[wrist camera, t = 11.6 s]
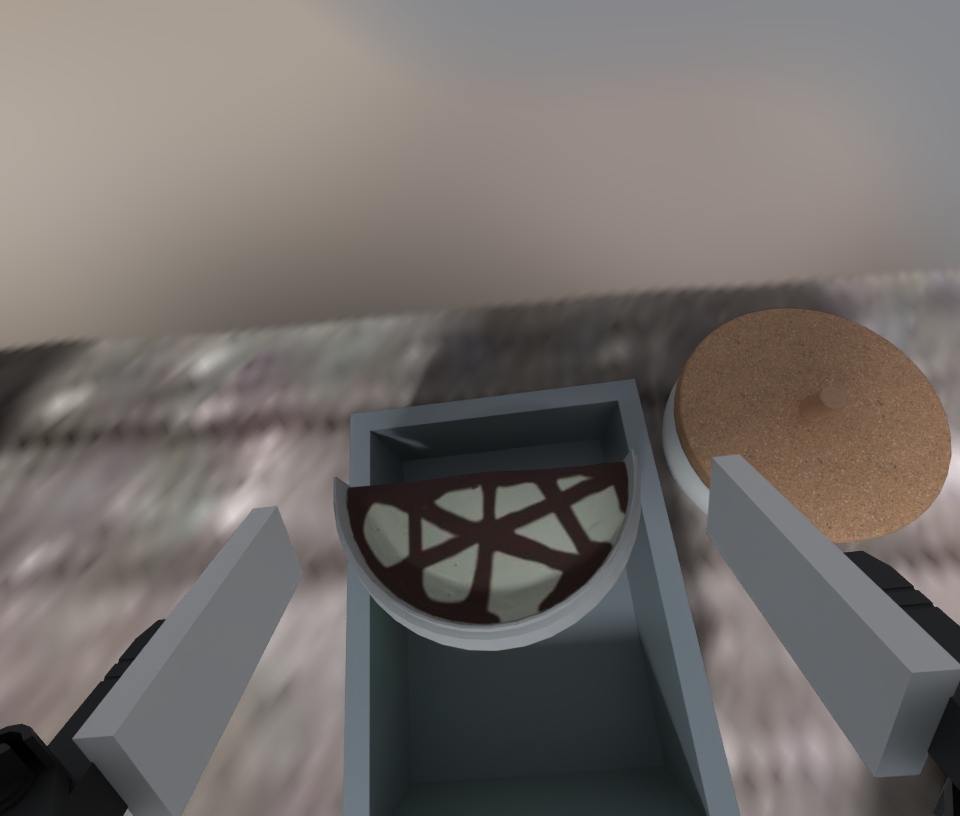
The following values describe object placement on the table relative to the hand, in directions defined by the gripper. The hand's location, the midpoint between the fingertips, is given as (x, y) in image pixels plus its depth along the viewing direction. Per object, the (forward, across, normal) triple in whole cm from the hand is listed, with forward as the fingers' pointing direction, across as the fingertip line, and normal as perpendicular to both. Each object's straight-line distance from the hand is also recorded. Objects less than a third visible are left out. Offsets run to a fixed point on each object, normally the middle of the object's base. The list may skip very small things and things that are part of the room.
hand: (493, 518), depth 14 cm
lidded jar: (+12, +14, -7) cm, 20 cm away
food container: (+7, 0, -10) cm, 12 cm away
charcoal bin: (+8, 0, -11) cm, 13 cm away
